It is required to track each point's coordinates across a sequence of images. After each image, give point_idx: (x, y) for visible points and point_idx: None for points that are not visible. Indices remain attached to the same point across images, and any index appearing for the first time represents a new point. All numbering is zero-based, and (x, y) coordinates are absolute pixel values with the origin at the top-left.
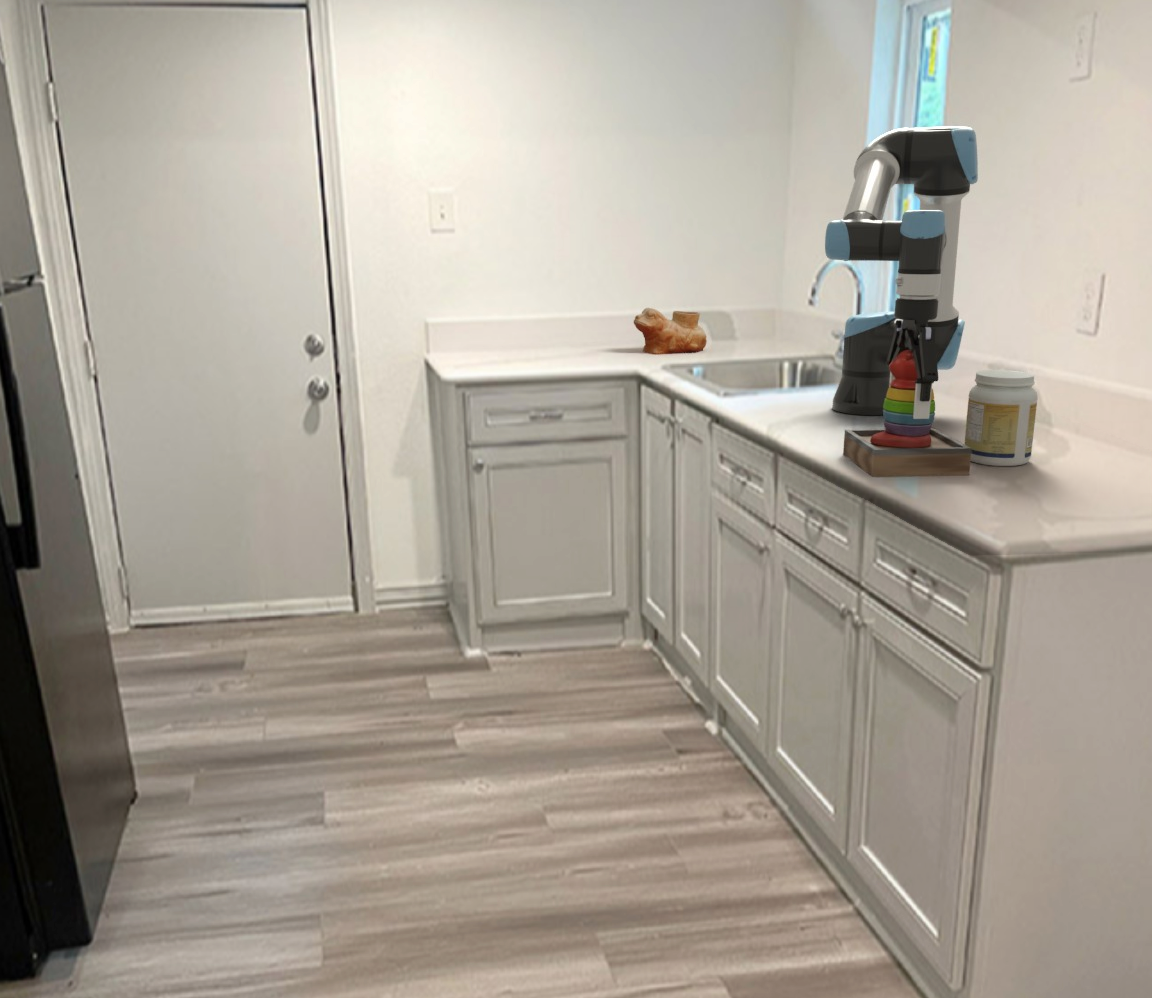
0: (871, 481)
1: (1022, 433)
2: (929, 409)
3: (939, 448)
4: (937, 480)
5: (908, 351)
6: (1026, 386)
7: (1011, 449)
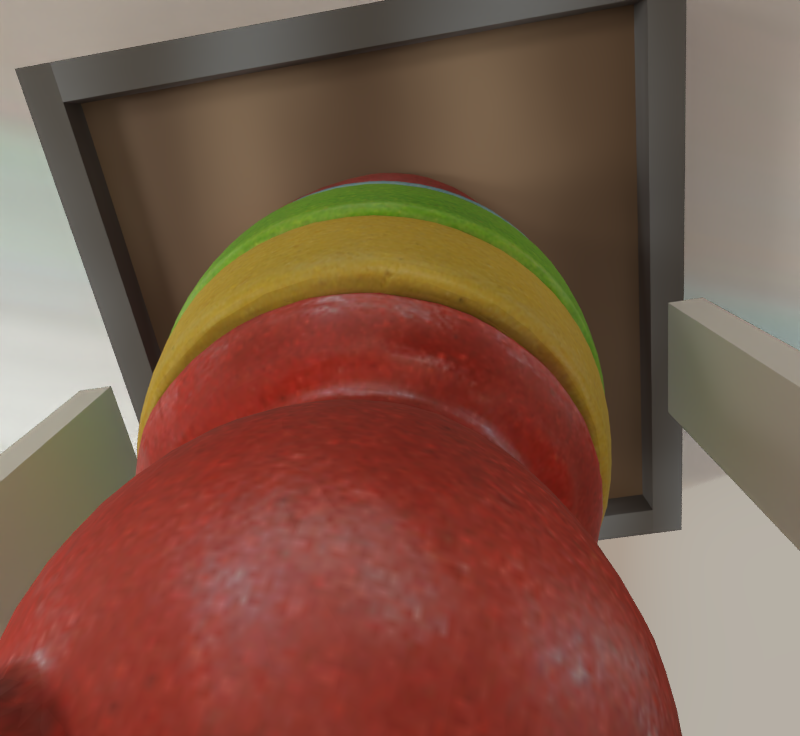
0: (706, 473)
1: None
2: (742, 323)
3: (673, 183)
4: (716, 193)
5: None
6: None
7: None
